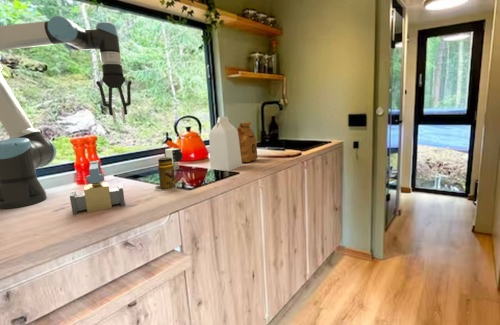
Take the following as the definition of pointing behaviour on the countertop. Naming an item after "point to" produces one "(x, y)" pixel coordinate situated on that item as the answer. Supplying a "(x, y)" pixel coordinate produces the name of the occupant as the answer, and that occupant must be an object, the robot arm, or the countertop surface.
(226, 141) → the milk
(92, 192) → the ball valve
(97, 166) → the lever
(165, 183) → the condiment
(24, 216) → the countertop surface
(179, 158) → the pneumatic valve
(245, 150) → the coffee package
